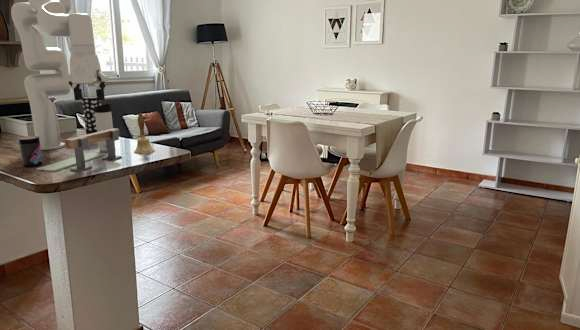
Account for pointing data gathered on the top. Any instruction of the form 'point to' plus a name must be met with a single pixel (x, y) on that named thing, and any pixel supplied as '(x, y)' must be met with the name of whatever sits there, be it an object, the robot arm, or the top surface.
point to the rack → (84, 145)
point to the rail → (90, 138)
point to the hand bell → (143, 139)
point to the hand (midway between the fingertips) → (89, 100)
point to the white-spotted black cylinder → (90, 113)
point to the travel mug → (103, 123)
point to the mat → (69, 162)
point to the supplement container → (30, 151)
